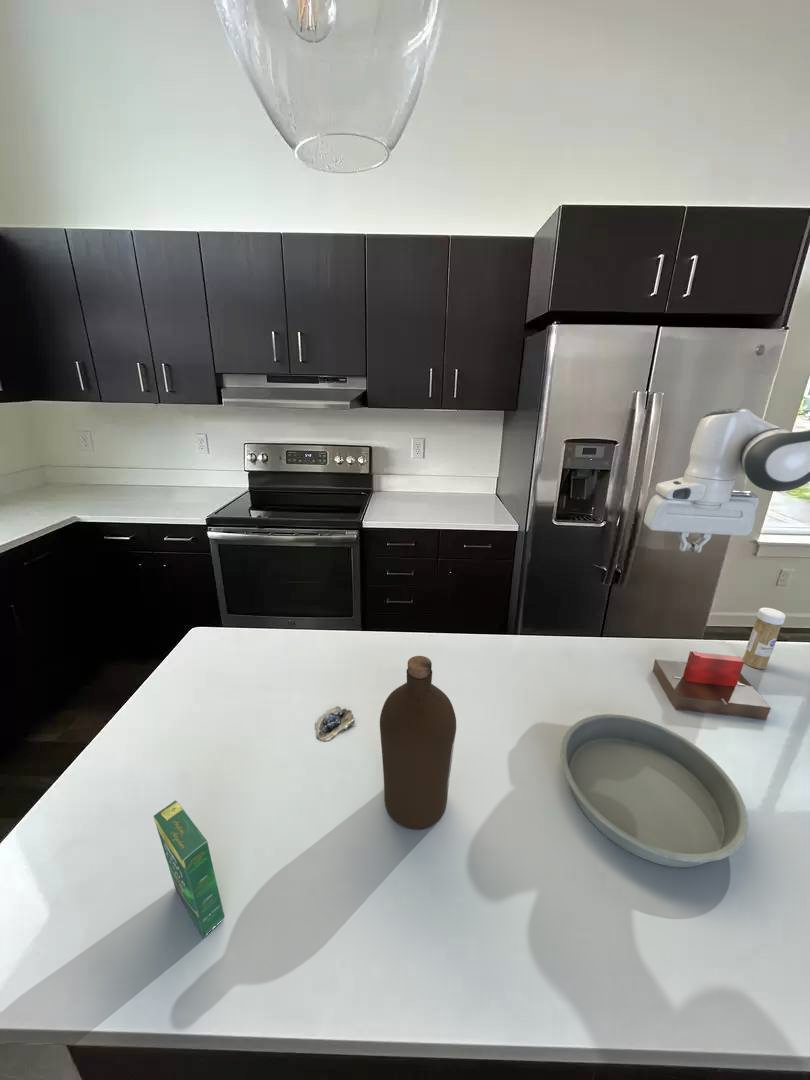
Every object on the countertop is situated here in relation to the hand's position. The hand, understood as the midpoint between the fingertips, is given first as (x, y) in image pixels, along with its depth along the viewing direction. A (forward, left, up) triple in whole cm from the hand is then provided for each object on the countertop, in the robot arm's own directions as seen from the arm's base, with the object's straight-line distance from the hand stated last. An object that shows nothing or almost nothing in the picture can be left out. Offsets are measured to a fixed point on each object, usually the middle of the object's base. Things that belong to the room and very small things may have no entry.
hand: (689, 550), depth 94 cm
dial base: (-2, +16, -25) cm, 30 cm away
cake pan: (+19, +43, -25) cm, 53 cm away
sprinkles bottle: (-18, +3, -25) cm, 31 cm away
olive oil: (+53, +50, -25) cm, 77 cm away
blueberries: (+70, +38, -25) cm, 84 cm away
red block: (-2, +16, -22) cm, 27 cm away
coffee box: (+77, +68, -25) cm, 106 cm away
